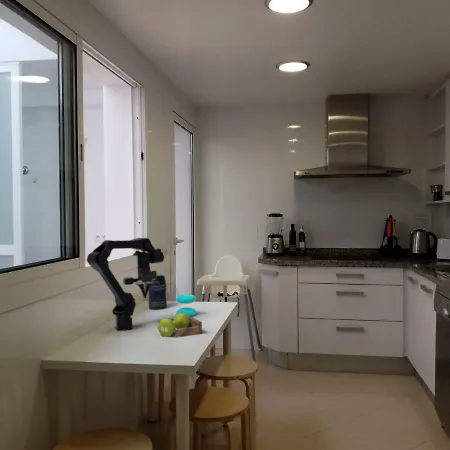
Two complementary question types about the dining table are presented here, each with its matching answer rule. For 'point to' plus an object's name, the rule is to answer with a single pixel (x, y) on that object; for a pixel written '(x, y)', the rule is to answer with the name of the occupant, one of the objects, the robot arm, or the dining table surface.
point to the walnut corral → (189, 328)
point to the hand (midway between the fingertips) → (144, 298)
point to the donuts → (185, 300)
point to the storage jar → (157, 296)
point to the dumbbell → (173, 324)
